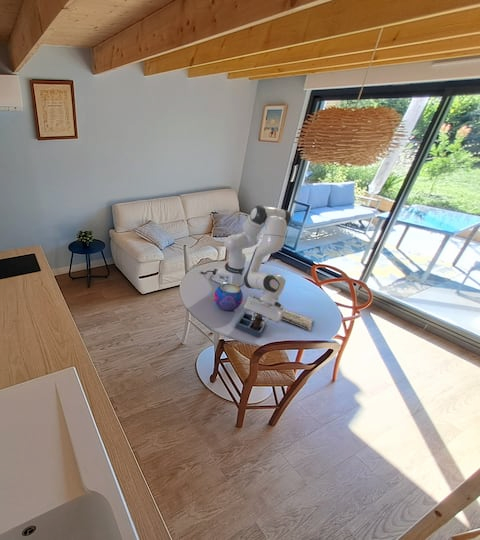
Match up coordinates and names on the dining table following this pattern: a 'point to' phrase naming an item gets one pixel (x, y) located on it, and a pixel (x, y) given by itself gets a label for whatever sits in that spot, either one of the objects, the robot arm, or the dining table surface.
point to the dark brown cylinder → (257, 322)
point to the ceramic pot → (228, 296)
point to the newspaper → (297, 319)
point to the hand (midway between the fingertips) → (257, 322)
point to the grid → (249, 325)
